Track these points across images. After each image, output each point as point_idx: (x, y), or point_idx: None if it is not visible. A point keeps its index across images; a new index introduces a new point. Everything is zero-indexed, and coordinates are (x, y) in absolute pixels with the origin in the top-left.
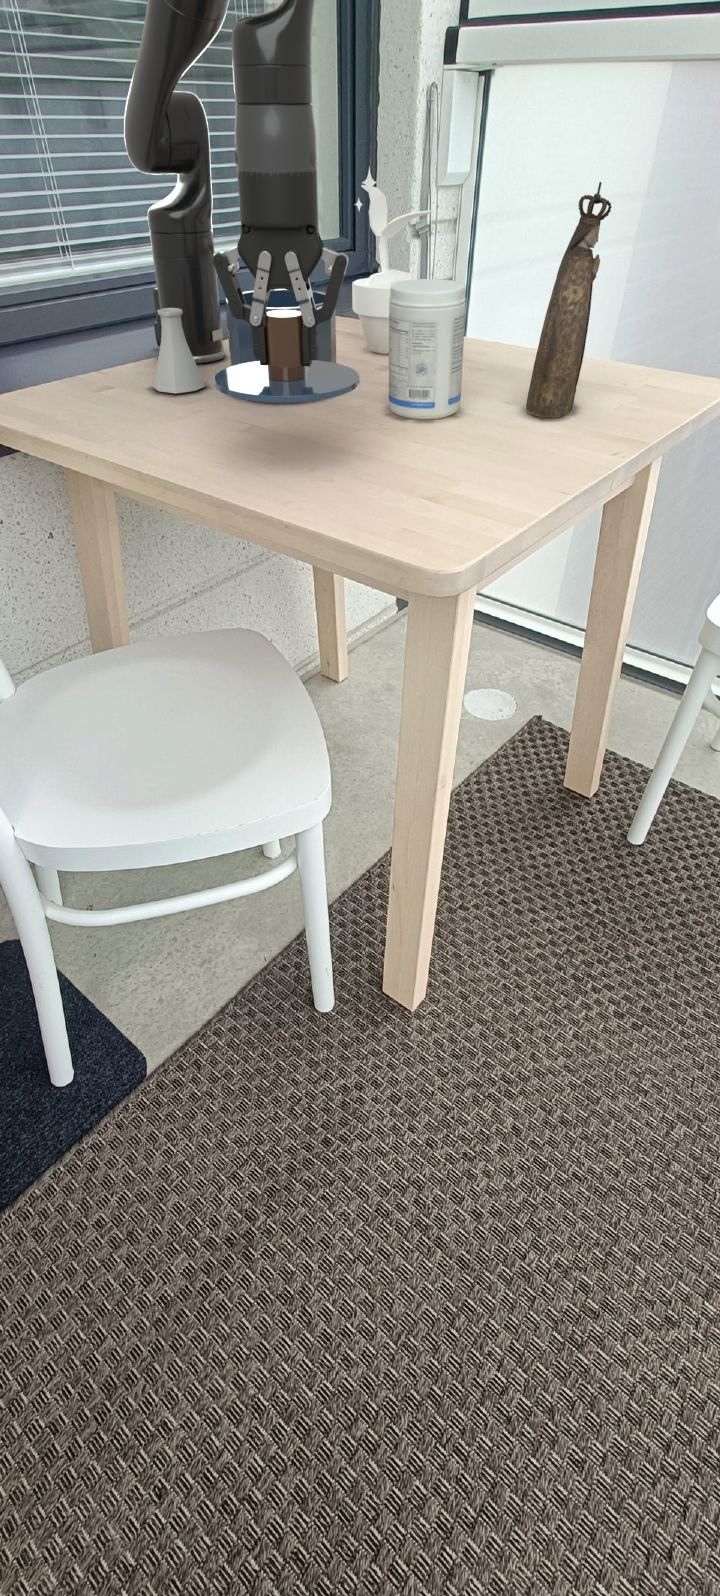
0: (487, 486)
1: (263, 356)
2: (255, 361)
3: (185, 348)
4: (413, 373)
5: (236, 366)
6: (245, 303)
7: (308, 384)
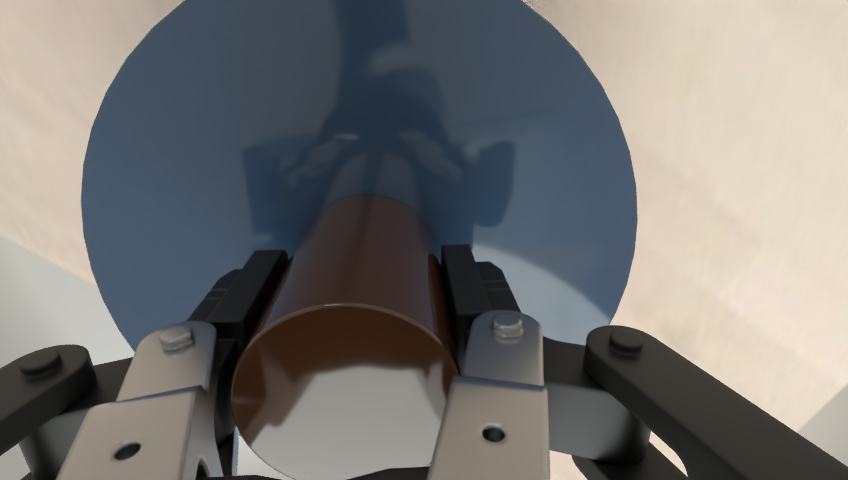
0: (806, 266)
1: None
2: (161, 27)
3: None
4: None
5: (113, 135)
6: (59, 408)
7: None
